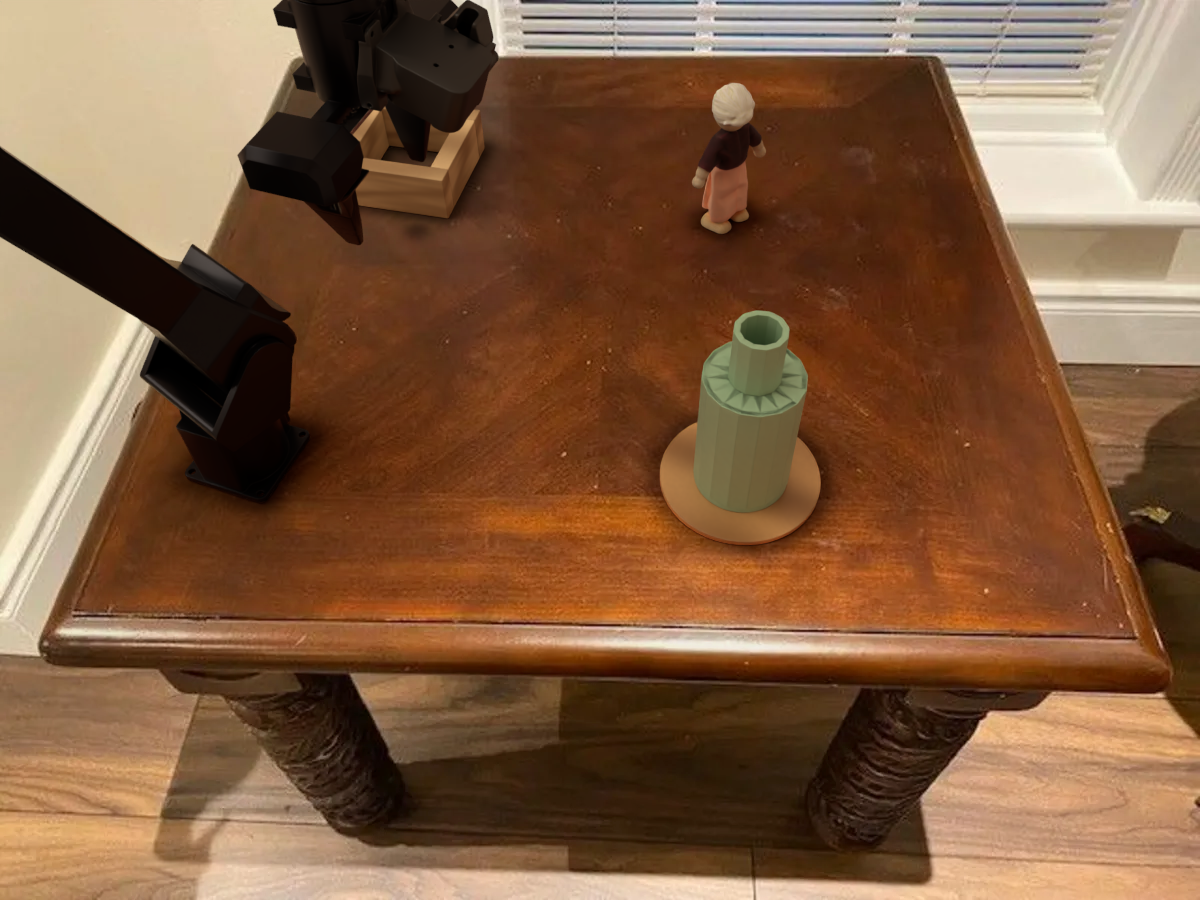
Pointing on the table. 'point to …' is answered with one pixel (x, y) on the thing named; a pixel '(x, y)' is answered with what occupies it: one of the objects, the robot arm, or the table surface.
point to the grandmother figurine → (728, 159)
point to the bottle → (749, 415)
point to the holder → (417, 167)
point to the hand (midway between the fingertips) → (388, 199)
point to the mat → (730, 524)
